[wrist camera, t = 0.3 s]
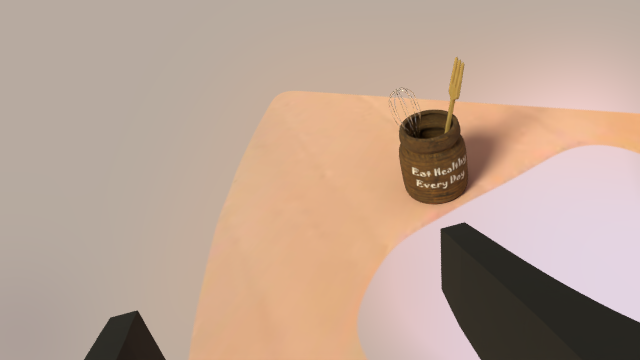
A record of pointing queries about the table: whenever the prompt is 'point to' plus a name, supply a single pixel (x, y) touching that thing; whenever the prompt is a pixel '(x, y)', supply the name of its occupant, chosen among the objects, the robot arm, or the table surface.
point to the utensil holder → (434, 150)
